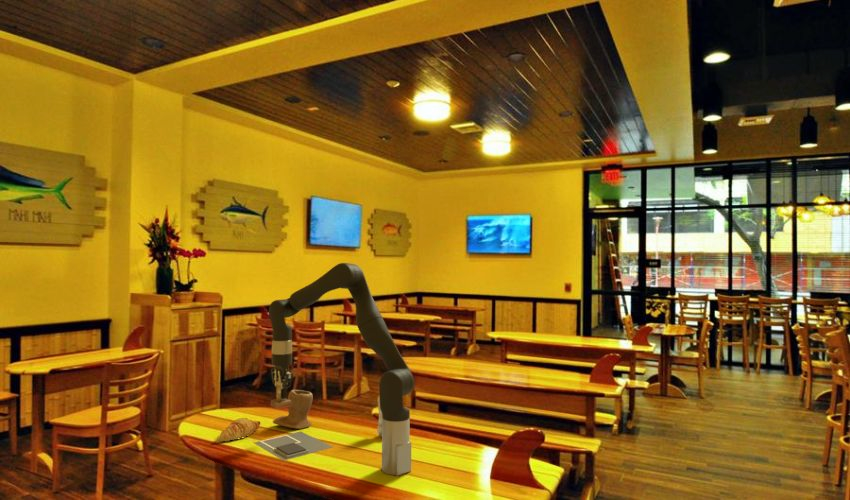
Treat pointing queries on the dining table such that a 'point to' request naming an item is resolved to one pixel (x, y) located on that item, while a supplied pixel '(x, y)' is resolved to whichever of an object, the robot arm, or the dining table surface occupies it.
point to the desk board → (292, 445)
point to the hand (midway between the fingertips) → (281, 397)
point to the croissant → (238, 429)
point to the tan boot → (297, 410)
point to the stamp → (280, 402)
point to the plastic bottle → (379, 419)
